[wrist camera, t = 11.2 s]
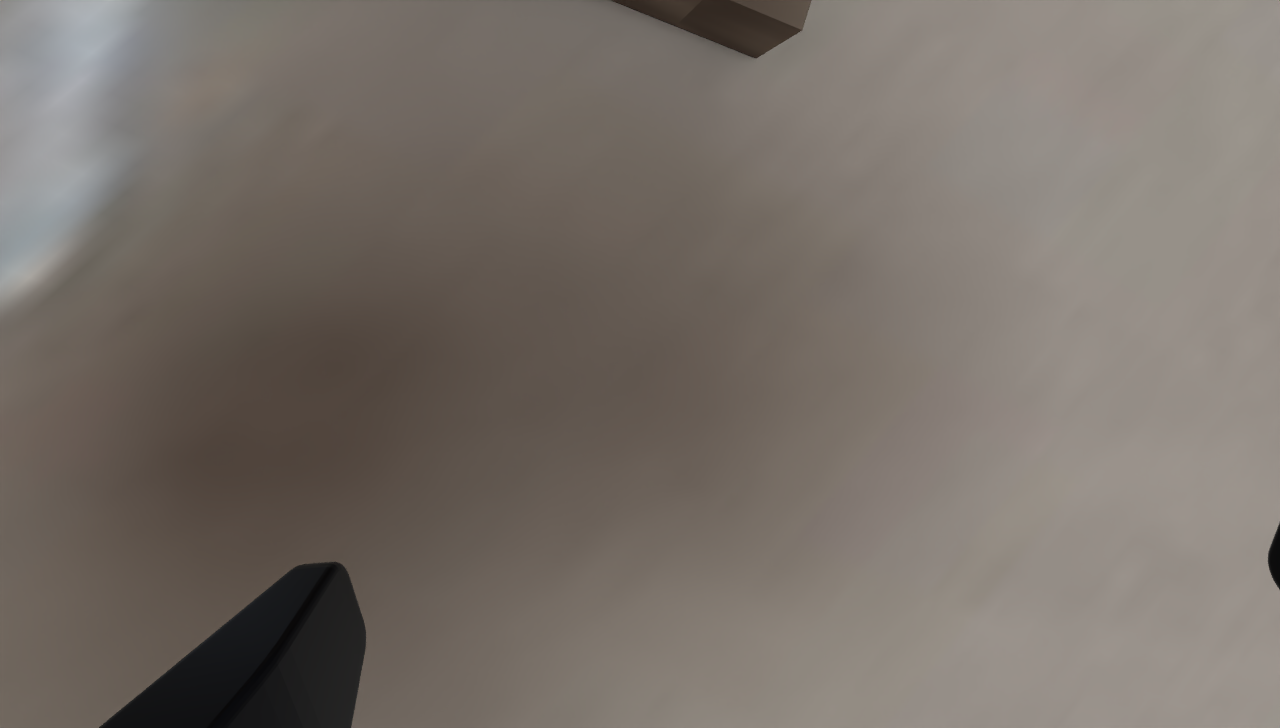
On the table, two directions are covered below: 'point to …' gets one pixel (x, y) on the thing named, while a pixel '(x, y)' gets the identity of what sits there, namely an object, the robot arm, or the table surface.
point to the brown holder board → (731, 20)
